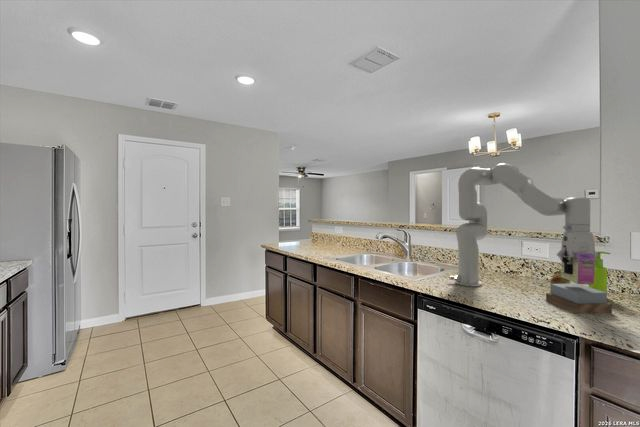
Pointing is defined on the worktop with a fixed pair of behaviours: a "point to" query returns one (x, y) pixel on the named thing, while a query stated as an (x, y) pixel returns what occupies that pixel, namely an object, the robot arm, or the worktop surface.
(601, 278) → the soap dispenser
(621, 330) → the worktop surface
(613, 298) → the worktop surface
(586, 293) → the tower top
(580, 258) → the box
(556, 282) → the onion
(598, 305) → the tower base
